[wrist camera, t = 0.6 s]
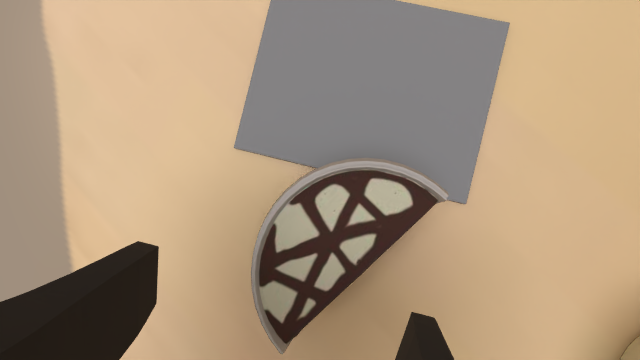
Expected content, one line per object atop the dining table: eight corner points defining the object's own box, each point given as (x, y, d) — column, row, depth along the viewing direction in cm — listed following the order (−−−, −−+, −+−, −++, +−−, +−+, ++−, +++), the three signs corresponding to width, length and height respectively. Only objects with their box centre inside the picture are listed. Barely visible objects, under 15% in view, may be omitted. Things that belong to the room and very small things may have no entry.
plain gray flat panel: (465, 204, 32) (466, 204, 32) (235, 148, 34) (233, 147, 34) (508, 24, 32) (509, 22, 32) (277, -22, 34) (276, -24, 34)
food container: (367, 132, 33) (367, 103, 23) (428, 194, 32) (455, 191, 22) (245, 249, 33) (193, 270, 24) (302, 313, 33) (274, 361, 23)
